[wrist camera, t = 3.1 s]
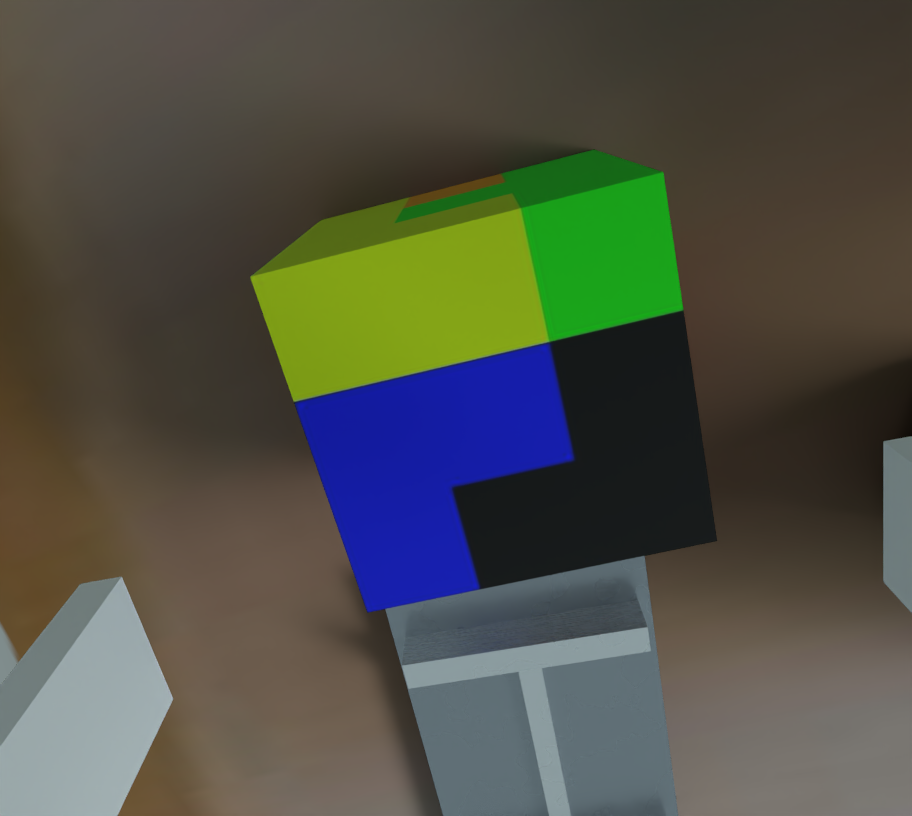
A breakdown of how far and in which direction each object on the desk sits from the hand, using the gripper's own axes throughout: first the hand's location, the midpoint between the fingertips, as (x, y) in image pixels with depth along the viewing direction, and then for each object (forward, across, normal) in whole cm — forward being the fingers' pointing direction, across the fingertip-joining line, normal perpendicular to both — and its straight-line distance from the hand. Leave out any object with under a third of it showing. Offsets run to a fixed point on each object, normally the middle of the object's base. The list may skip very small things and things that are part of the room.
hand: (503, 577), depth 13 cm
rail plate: (+17, -1, -20) cm, 26 cm away
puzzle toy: (+17, 0, 0) cm, 17 cm away
